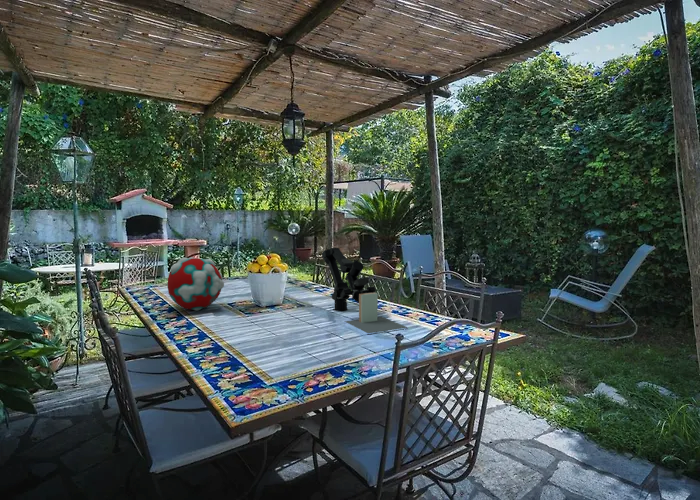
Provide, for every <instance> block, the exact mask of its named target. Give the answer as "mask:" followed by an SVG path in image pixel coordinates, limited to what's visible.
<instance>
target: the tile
mask: <svg viewBox="0 0 700 500" xmlns="http://www.w3.org/2000/svg"><path fill="white" fill-rule="evenodd" d="M378 299H379V294H378V293H377V292H375V293H364V294H359V303H358V320H359V322H361V323H364V322H372V321H377V317H378V311H379V309H378V306H379V305H378V304H379V303H378V302H379V300H378Z"/></svg>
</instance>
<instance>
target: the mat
mask: <svg viewBox="0 0 700 500" xmlns="http://www.w3.org/2000/svg"><path fill="white" fill-rule="evenodd" d="M344 322H345V323H346V324H348V325H350V326H353V327H354V328H356V329H359V330H360V331H362V332H365V333H366V335H367V336H372V335H377V334H383V333H384V334H385V333H392V332H397V331H398V332H399V331H404V329H405V330H409V327H408V326H406V325H403V324H401V323H398V322H396V321H393V320H391V319H388V318H386V317H384V316H377V321H372V322H364V323H361V322H359V319H353V320H351V319H350V320H345V321H344Z"/></svg>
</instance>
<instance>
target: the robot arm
mask: <svg viewBox="0 0 700 500" xmlns="http://www.w3.org/2000/svg"><path fill="white" fill-rule="evenodd" d="M321 257H322V260H323V261H324V263H326V264H327V265H328V268H329V271H330V275H331V277H332V280H333V284H334V288H333V292H332V295H331V299H332V300H333V301H334V308H333V309H332V311H338V312H344V311H348V310H349V308H348V301H347V300H350V296H351V300H354V301H355V302H356V303H358V304H359V294H364V293H376V291H377V289H376V287H375V286H367V287H366V289H364V288H365V285H368V284H369V282H370V280H369V278H368V277H366V276H365V277H363V278H359V277H358V276H360V275H361V273H362V271H363V269H364V267H365V266H364V264H363V263H361V262H360V261H359V260H355V259H354V260H350V259H347V257H346V255H344V253H343V252H342V251H341V249H340V248H339V247H331V248H329V249H324V250H323V251H322V252H321ZM337 263H338V264H339V267H338V264H337ZM339 269H340V270H339ZM340 271H341V272H340ZM341 273H342V274H345V278H344V280H345V282H344V280H343V278H342V276H341ZM346 281H347V282H348V283H347V282H346Z"/></svg>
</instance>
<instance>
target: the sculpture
mask: <svg viewBox="0 0 700 500" xmlns="http://www.w3.org/2000/svg"><path fill="white" fill-rule="evenodd" d="M166 286H167V291H168V295H169V297H170V298H171V300H172V301H173V302H174V303H175V304H176V305H178V306H180V307H181V308H183V309H185V310H190V311H200V310H202V309H206V308H208V306H210V305H212V304H213V303H214V302H216V300H217V299H218V298H219V296H220V294H221V293H222V292H221V291H222V289H223V288H224V287H225V282H224V280H223V274H222V273H221V271H220V270H219V269H218V268H217V266H216V263H215V261H213V260H211V259H210V258H198V257H182V258H180V259H179V260H178V261H177V262H176V263H174V264H172V265H171V267H170V272H169V275H168V277H167V285H166Z"/></svg>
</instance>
